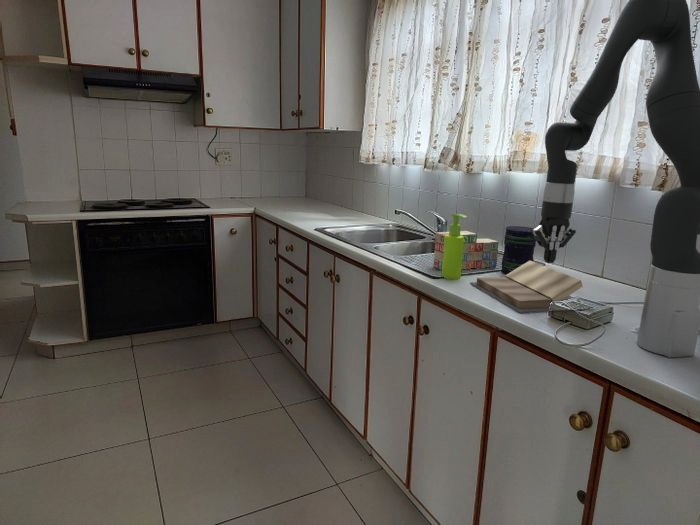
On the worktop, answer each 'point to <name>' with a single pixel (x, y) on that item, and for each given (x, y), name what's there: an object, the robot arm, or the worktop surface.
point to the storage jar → (517, 248)
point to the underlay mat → (523, 310)
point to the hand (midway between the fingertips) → (549, 262)
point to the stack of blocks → (469, 251)
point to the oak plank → (545, 281)
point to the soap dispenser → (453, 250)
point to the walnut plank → (513, 292)
